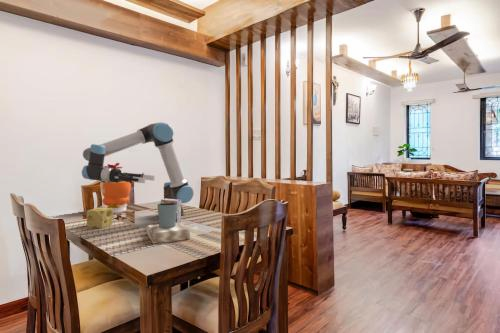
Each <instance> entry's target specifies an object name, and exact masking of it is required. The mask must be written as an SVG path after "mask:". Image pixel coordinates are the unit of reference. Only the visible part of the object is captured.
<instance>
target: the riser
mask: <svg viewBox="0 0 500 333" xmlns="http://www.w3.org/2000/svg"><path fill="white" fill-rule="evenodd" d="M146 231H147V232H146V235H147V236H148V238H149V239H150V241H151V242H152V244H159V243H160V244H161V243H168V242H170V243H171V242H175V241H176V242H178V241H186V239H187V240H190V239H191V236H190V235H191V234H190V233H191V230H190V229H189V228H187V227H186V226H185V225H184V224H183V223H182V222H181V223H180V222H177V223H176V226H175V227H173V228H160V227H159V223H158V224H156V223H155V224H148V225H147V228H146Z"/></svg>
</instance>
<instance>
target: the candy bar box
mask: <svg viewBox="0 0 500 333" xmlns="http://www.w3.org/2000/svg"><path fill="white" fill-rule="evenodd" d="M167 202H171V203H177V213H176V223H177V222H180V223H181V224H182V216H181V205H182V203H181V200H176V199H164V198H162V199H160V203H167Z"/></svg>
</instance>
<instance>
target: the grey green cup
mask: <svg viewBox="0 0 500 333" xmlns="http://www.w3.org/2000/svg"><path fill="white" fill-rule="evenodd" d="M157 212H158V213H157V214H158V224H159V227H160V228H173V227H175V226H176V213H177V203H171V202H167V203H161V202H160V203H157Z"/></svg>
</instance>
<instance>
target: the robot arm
mask: <svg viewBox="0 0 500 333" xmlns="http://www.w3.org/2000/svg"><path fill="white" fill-rule="evenodd" d="M173 137H174V130H173V128H172V126H171V125H170V124H168V123H167V122H156V123H155V122H154V123H150V124H148V125H147V126H144V127H142V128H139V129H137V130H136V132H132V133H129V134H126V135H124V136H121V137H118V138H115V139H111V140H110V141H109V140H108V141H107V142H104V143H101V144H95V143H94V144H91V145H90V147H88V148H87V147H86V149H84V150H83V151H82V157H83V160H86V161H87V162H88V164H87V165H84V166H83V167H82V170H81V175H82V178H83V179H86V180H90V181H100V182H101V181H105V182H107V181H108V182H116V183H118V182H119V181H120V180H121V181H125V182H129V183H131V184H132V183H138V184H146V181H147V180H148V181H152V182H153V181H155V177H156V176H155V175H151V174H150V175H149V174H145V173H144V172H143V173H133V172H131V173H130V172H122V169H121V168H118V169H117V168H116V169H114V168H107V167H103V166H104V163H105V161H104V160H105V157H107V156H110V155H113V154H115V153H119V152H122V151H124V150H126V149H129V148H132V147H134V146H137V145H140V144H142V145H145V144H147V143H148V144H149V143H153V144H154V146H155V148H157V149H158V150H159V153H160V156H161V159H162V161H163V164H164V166H165V170H166V173H167V176H168V178H169V182H167V181H166V182H164V184H163V199H176V200H181V215H182V216H183V215H185V214H184V213H185V212H184V208H183V205H182V204H188V203H189V202H190V201H192V199H193V197H194V196H195V194H194V189H193V187H192V186H190V185H189V182H188V180H187V179H185V178H184V176H183V172H182V169H181V167H180V164H179V161H178V158H177V154H176V152H175V149H174V146H173V143H174V139H173Z"/></svg>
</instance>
